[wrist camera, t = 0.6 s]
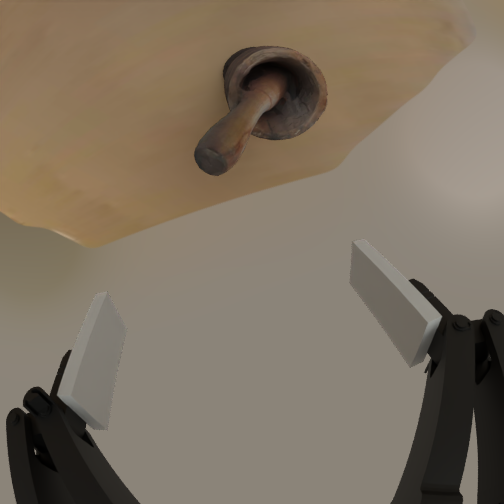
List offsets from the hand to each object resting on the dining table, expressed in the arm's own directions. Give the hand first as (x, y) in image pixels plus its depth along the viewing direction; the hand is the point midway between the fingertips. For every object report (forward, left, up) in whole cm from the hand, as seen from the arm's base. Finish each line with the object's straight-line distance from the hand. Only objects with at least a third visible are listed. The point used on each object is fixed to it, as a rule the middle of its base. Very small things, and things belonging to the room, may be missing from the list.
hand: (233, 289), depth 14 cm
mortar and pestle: (-7, +1, -27) cm, 28 cm away
